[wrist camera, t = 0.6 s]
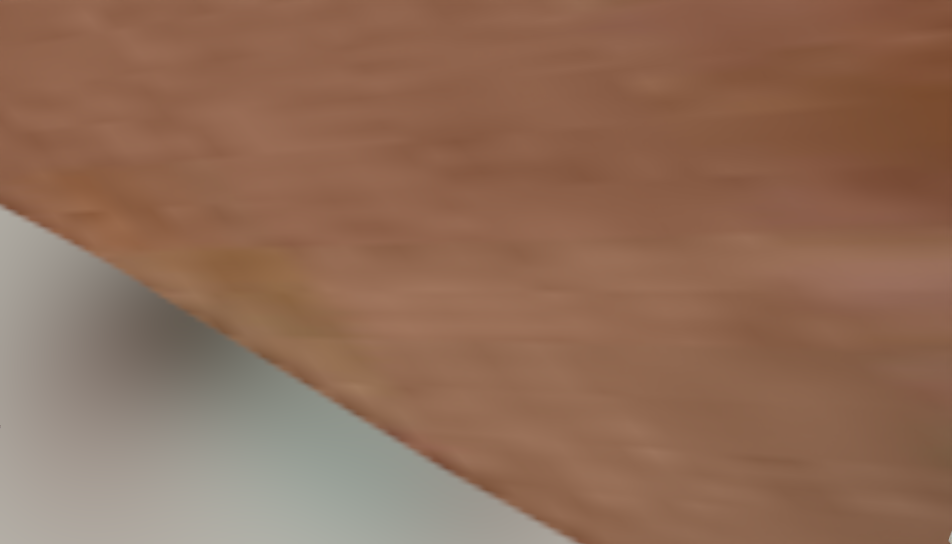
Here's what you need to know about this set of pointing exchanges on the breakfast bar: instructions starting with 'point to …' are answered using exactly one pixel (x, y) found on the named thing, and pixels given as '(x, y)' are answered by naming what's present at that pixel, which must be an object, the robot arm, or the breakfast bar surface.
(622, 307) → the breakfast bar surface
